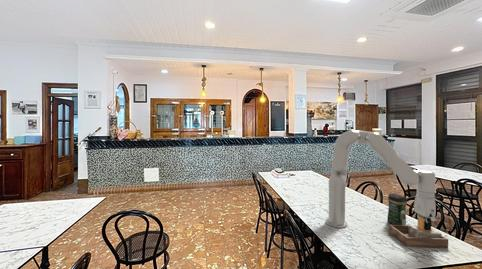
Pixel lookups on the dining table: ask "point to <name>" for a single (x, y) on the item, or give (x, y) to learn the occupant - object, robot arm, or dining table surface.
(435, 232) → the walled box
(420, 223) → the connector
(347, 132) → the robot arm
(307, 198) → the dining table surface
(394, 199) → the coffee jar
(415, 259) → the dining table surface
